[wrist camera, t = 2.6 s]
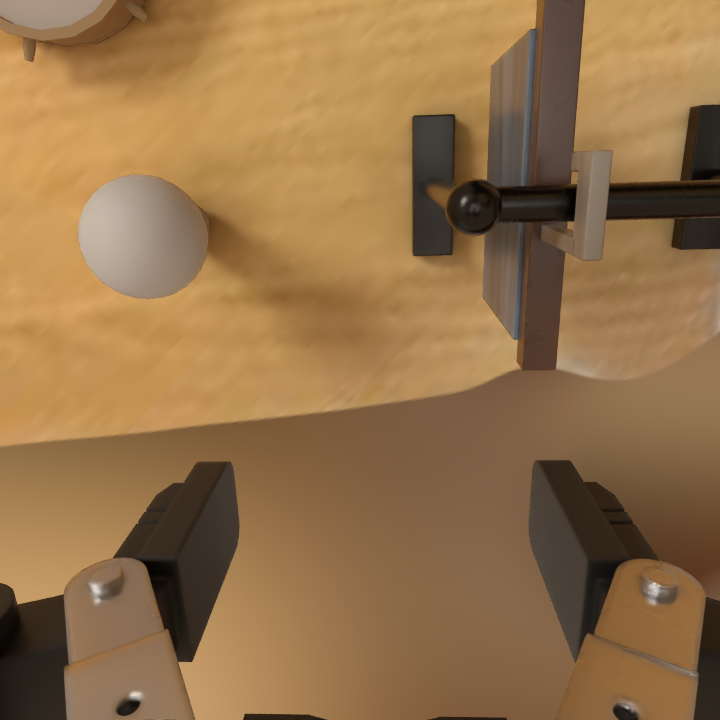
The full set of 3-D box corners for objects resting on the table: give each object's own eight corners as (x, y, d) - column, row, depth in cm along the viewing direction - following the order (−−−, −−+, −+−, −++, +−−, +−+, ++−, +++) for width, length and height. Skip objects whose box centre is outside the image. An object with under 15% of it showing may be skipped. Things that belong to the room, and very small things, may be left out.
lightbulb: (127, 198, 37) (26, 212, 26) (212, 155, 36) (141, 151, 25) (177, 286, 38) (100, 331, 28) (258, 247, 37) (210, 279, 27)
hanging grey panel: (481, 315, 34) (550, 422, 20) (491, 42, 29) (588, -68, 15) (513, 314, 34) (604, 421, 20) (528, 41, 29) (659, -72, 15)
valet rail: (412, 253, 37) (437, 335, 19) (411, 117, 35) (439, 67, 17) (710, 246, 36) (1025, 325, 18) (732, 105, 34) (1122, 40, 16)
